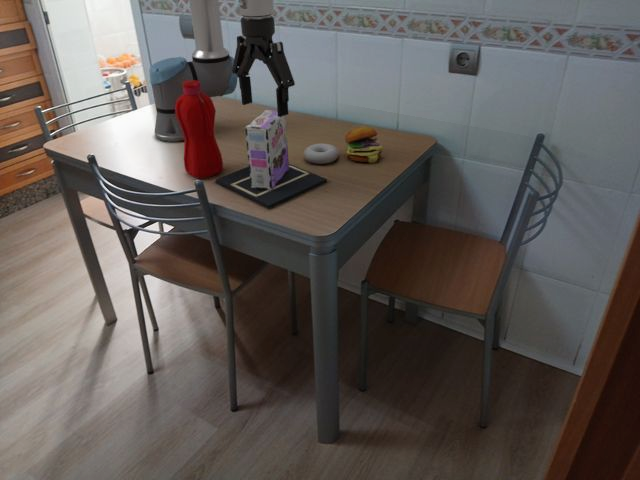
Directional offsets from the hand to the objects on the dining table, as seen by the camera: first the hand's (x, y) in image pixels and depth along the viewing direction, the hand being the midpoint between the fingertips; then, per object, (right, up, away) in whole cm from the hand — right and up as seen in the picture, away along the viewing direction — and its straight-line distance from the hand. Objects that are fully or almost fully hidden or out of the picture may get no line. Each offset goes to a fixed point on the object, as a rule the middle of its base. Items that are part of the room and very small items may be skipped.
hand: (264, 109), depth 128 cm
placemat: (+1, -17, +10) cm, 20 cm away
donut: (+14, -9, +23) cm, 28 cm away
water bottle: (-18, -14, +17) cm, 28 cm away
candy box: (+1, -16, +10) cm, 19 cm away
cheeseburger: (+26, -8, +23) cm, 36 cm away
